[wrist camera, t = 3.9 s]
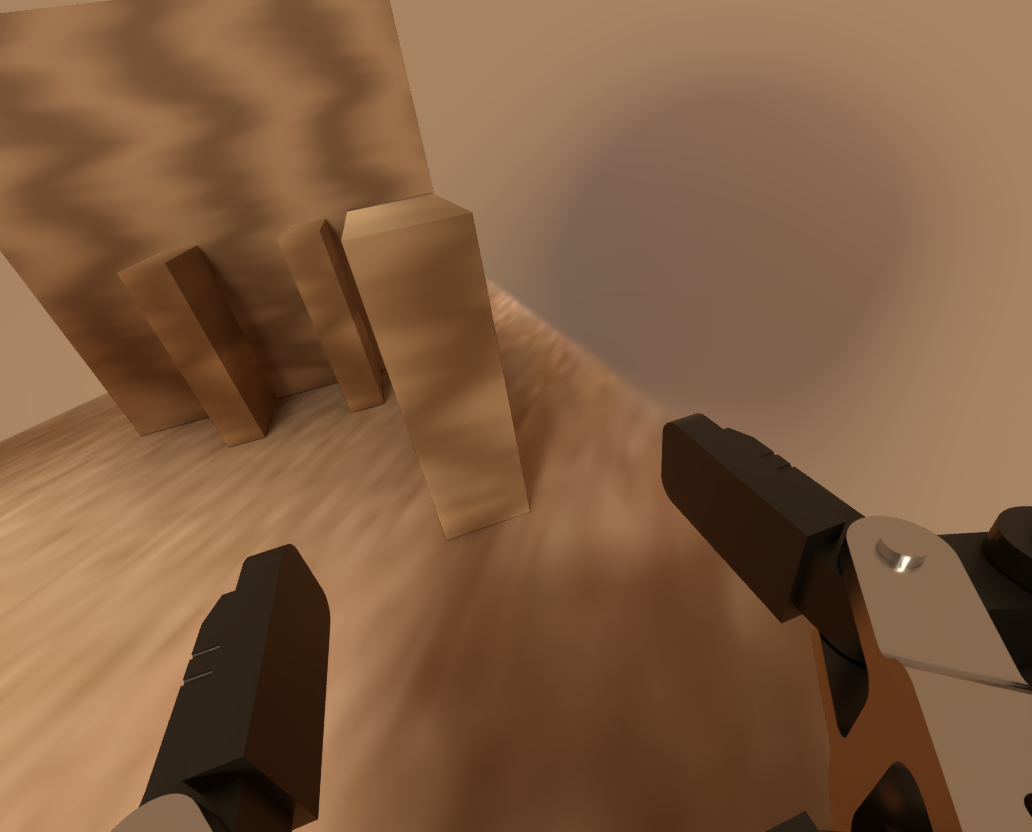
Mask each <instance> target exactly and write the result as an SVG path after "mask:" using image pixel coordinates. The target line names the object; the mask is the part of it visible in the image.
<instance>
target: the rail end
mask: <svg viewBox="0 0 1032 832" xmlns="http://www.w3.org/2000/svg"><path fill="white" fill-rule="evenodd" d="M341 242H342V245H343V248H344V251H345V253H346V256H347V259H348V262H349V265H350V268H351V270H352V273H353V276H354V279H355V282H356V285H357V287H358V290H359V293H360V296H361V299H362V302H363V304H364V307H365V310H366V313H367V316H368V319H369V321H370V324H371V327H372V330H373V333H374V336H375V338H376V341H377V344H378V347H379V350H380V353H381V355H382V358H383V361H384V364H385V367H386V370H387V372H388V375H389V378H390V381H391V384H392V387H393V389H394V392H395V395H396V398H397V401H398V404H399V406H400V409H401V412H402V415H403V418H404V421H405V423H406V426H407V429H408V432H409V435H410V438H411V440H412V443H413V446H414V449H415V452H416V455H417V457H418V460H419V463H420V466H421V469H422V472H423V474H424V477H425V480H426V483H427V486H428V489H429V491H430V494H431V497H432V500H433V503H434V506H435V508H436V511H437V514H438V517H439V520H440V523H441V525H442V528H443V531H444V534H445V537H446V540H448V539H451V538H454V537H457V536H460V535H463V534H466V533H469V532H472V531H475V530H478V529H480V528H483V527H486V526H489V525H492V524H495V523H498V522H501V521H504V520H507V519H510V518H512V517H515V516H518V515H521V514H524V513H527V512H530V509H529V504H528V499H527V494H526V489H525V483H524V478H523V473H522V468H521V463H520V457H519V452H518V447H517V442H516V437H515V431H514V426H513V421H512V416H511V411H510V405H509V400H508V395H507V390H506V385H505V379H504V374H503V369H502V364H501V359H500V353H499V348H498V343H497V338H496V333H495V327H494V322H493V317H492V312H491V307H490V301H489V296H488V291H487V286H486V281H485V276H484V270H483V265H482V260H481V255H480V250H479V245H478V239H477V234H476V229H475V224H474V219H473V213H472V212H470V211H468V210H466V209H464V208H461V207H459V206H457V205H455V204H453V203H451V202H449V201H447V200H445V199H443V198H441V197H439V196H437V195H435V194H433V193H427V194H422V195H417V196H412V197H407V198H402V199H397V200H392V201H387V202H383V203H378V204H373V205H368V206H363V207H358V208H353V209H348V210H347V215H346V220H345V225H344V230H343V235H342V240H341Z"/></svg>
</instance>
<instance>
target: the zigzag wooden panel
mask: <svg viewBox="0 0 1032 832" xmlns="http://www.w3.org/2000/svg"><path fill="white" fill-rule="evenodd" d="M427 193H433V194H434V191H433V186H432V182H431V178H430V173H429V169H428V165H427V160H426V156H425V152H424V148H423V143H422V139H421V135H420V130H419V126H418V122H417V117H416V113H415V109H414V104H413V100H412V96H411V91H410V87H409V83H408V79H407V74H406V70H405V65H404V61H403V57H402V52H401V48H400V44H399V39H398V35H397V31H396V26H395V22H394V18H393V13H392V9H391V5H390V0H112V1H102V2H94V3H86V4H76V5H68V6H59V7H50V8H42V9H34V10H25V11H16V12H8V13H0V250H1V252H2V253H3V255H4V256H5V257H6V259H7V260H8V261H9V263H10V264H11V265H12V266H13V268H14V269H15V271H16V272H17V273H18V274H19V276H20V277H21V278H22V280H23V281H24V282H25V284H26V285H27V286H28V288H29V289H30V290H31V291H32V293H33V294H34V295H35V297H36V298H37V299H38V301H39V302H40V303H41V305H42V306H43V307H44V309H45V310H46V311H47V313H48V314H49V315H50V317H51V318H52V319H53V320H54V322H55V323H56V324H57V326H58V327H59V328H60V330H61V331H62V332H63V334H64V335H65V336H66V338H67V339H68V340H69V341H70V342H71V344H72V345H73V347H74V348H75V349H76V351H77V352H78V353H79V355H80V356H81V357H82V359H83V360H84V361H85V362H86V364H87V365H88V366H89V368H90V369H91V370H92V372H93V373H94V374H95V376H96V377H97V378H98V380H99V381H100V382H101V383H102V385H103V386H104V387H105V389H106V390H107V391H108V393H109V394H110V395H111V397H112V398H113V399H114V401H115V402H116V403H117V404H118V406H119V407H120V408H121V410H122V411H123V412H124V414H125V415H126V416H127V418H128V419H129V420H130V422H131V423H132V424H133V425H134V427H135V428H136V429H137V431H138V432H139V433H140V435H144V434H148V433H152V432H155V431H159V430H163V429H166V428H170V427H174V426H178V425H181V424H185V423H189V422H192V421H196V420H200V419H204V418H207V417H210V419H211V421H212V422H213V424H214V425H215V427H216V428H217V430H218V432H219V433H220V435H221V436H222V438H223V439H224V441H225V442H226V444H227V446H228V447H231V446H235V445H239V444H242V443H246V442H249V441H253V440H256V439H260V438H263V437H265V435H266V432H267V429H268V426H269V423H270V420H271V417H272V414H273V411H274V408H275V405H276V402H277V399H278V398H281V397H285V396H289V395H292V394H296V393H300V392H303V391H307V390H311V389H315V388H318V387H322V386H326V385H329V384H333V383H337V382H338V383H339V385H340V388H341V390H342V392H343V395H344V397H345V400H346V402H347V404H348V407H349V409H350V411H351V413H352V412H355V411H359V410H362V409H366V408H369V407H373V406H376V405H380V404H383V403H384V397H383V388H382V378H381V370H385V369H386V367H385V364H384V361H383V358H382V355H381V353H380V350H379V347H378V344H377V341H376V338H375V336H374V333H373V330H372V327H371V324H370V321H369V319H368V316H367V313H366V310H365V307H364V304H363V302H362V299H361V296H360V293H359V290H358V287H357V285H356V282H355V279H354V276H353V273H352V270H351V268H350V265H349V262H348V259H347V256H346V253H345V251H344V248H343V245H342V242H341V240H342V235H343V230H344V225H345V220H346V215H347V210H348V209H353V208H358V207H363V206H368V205H373V204H378V203H383V202H387V201H392V200H397V199H402V198H407V197H412V196H417V195H422V194H427Z"/></svg>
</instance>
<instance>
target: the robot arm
mask: <svg viewBox="0 0 1032 832" xmlns="http://www.w3.org/2000/svg"><path fill="white" fill-rule="evenodd" d="M661 477H662V483H663V486H664V489H665V491H666V493H667V495H668V497H669V499H670V500H671V501H672V503H673V504H674V505H675V506H676V507H677V508H678V509H679V510H680V511H681V513H682V514H683V515H684V516H685V517H686V518H687V519H688V520H689V521H690V523H691V524H692V525H693V526H694V527H695V528H696V529H697V530H698V531H699V532H700V534H701V535H702V536H703V537H704V538H705V539H706V540H707V541H708V542H709V544H710V545H711V546H712V547H713V548H714V549H715V550H716V551H717V552H718V554H719V555H720V556H721V557H722V558H723V559H724V560H725V561H726V562H727V563H728V565H729V566H730V567H731V568H732V569H733V570H734V571H735V572H736V573H737V575H738V576H739V577H740V578H741V579H742V580H743V581H744V582H745V583H746V585H747V586H748V587H749V588H750V589H751V590H752V591H753V592H754V593H755V594H756V596H757V597H758V598H759V599H760V600H761V601H762V602H763V603H764V604H765V606H766V607H767V608H768V609H769V610H770V611H771V612H772V613H773V614H774V616H775V617H776V618H777V619H778V620H779V621H780V622H781V623H783V622H785V621H788V620H790V619H792V618H795V617H797V616H799V615H802V614H803V615H804V616H805V617H806V618H807V619H808V620H809V621H810V622H811V623H812V624H813V625H812V628H811V639H812V645H813V650H814V656H815V661H816V667H817V673H818V678H819V684H820V689H821V695H822V700H823V706H824V712H825V717H826V723H827V728H828V734H829V741H830V763H829V774H828V786H829V800H830V808H831V814H832V820H833V827H834V831H831V830H818V829H817V827H816V826H815V825H814V823H813V822H812V820H811V819H810V817H809V816H808V814H807V813H806V811H804V812H802V813H801V814H799V815H797V816H795V817H793V818H791V819H789V820H787V821H785V822H783V823H781V824H779V825H777V826H776V827H774V828H772V829H770V830H768V831H766V832H1032V506H1022V507H1014V508H1009V509H1007V510H1005V511H1003V512H1002V513H1001V514H999V516H998V518H997V520H996V521H995V522H994V524H993V526H992V527H991V529H990V531H989V532H979V533H962V534H947V535H936V534H934V533H932V532H931V531H929V530H927V529H925V528H923V527H921V526H918V525H916V524H914V523H911V522H908V521H905V520H901V519H897V518H892V517H884V516H871V517H865V516H863V515H862V514H860V513H859V512H857V511H856V510H855V509H853V508H852V507H850V506H849V505H848V504H846V503H845V502H843V501H842V500H840V499H839V498H838V497H836V496H835V495H834V494H832V493H831V492H829V491H828V490H827V489H825V488H824V487H822V486H821V485H820V484H818V483H817V482H815V481H814V480H813V479H811V478H810V477H808V476H807V475H806V474H804V473H803V472H801V471H800V470H798V469H797V468H795V467H793V468H792V467H791V465H790V463H789V462H787V461H786V460H784V459H783V458H782V457H780V456H779V455H774V453H773V451H772V450H770V449H769V448H768V447H766V446H765V445H764V444H762V443H761V442H759V441H758V440H756V439H755V438H754V437H751V436H748V435H746V434H743V433H741V432H738V431H736V430H733V429H730V428H726V429H722V428H720V427H719V426H718V425H717V424H715V423H714V422H713V421H711V420H710V419H709V418H707V417H706V416H704V415H702V414H694V415H691V416H688V417H684V418H681V419H678V420H675V421H672V422H669V423H667V424H666V425H665V426H664V428H663V441H662V470H661ZM329 637H330V611H329V605H328V602H327V598H326V596H325V593H324V591H323V589H322V588H321V586H320V585H319V583H318V582H317V580H316V578H315V577H314V575H313V574H312V572H311V571H310V569H309V567H308V566H307V564H306V563H305V561H304V559H303V558H302V556H301V555H300V553H299V552H298V550H297V549H296V548H295V546H293V545H292V544H287V545H284V546H281V547H278V548H275V549H272V550H268V551H265V552H262V553H259V554H256V555H253V556H250V557H248V558H247V559H246V560H245V561H244V563H243V566H242V569H241V573H240V576H239V580H238V583H237V587H236V590H235V591H233V592H230V593H227V594H224V595H222V596H221V598H220V599H219V600H218V602H217V603H216V605H215V606H214V607H213V609H212V610H211V612H210V613H209V614H208V616H207V617H206V619H205V620H204V622H203V623H202V625H201V628H200V631H199V634H198V637H197V640H196V643H195V646H194V649H193V652H192V656H193V658H192V659H191V660H189V663H188V666H187V669H186V672H185V675H184V678H183V680H184V685H183V686H181V687H180V690H179V693H178V696H177V699H176V702H175V705H174V708H173V711H172V714H171V717H170V720H169V723H168V726H167V729H166V732H165V735H164V738H163V740H162V743H161V746H160V749H159V752H158V755H157V758H156V761H155V764H154V767H153V770H152V773H151V776H150V779H149V782H148V785H147V788H146V791H145V793H144V796H143V798H142V801H141V803H140V805H139V807H138V808H137V809H136V810H135V811H133V812H132V813H131V814H129V815H128V816H127V817H126V818H125V819H123V820H122V821H121V822H120V823H119V824H118V825H117V826H116V827H115V828H114V829H113V830H112V831H111V832H292V830H294V829H296V828H299V827H301V826H303V825H306V824H308V823H310V822H313V821H315V820H317V819H318V813H319V797H320V781H321V765H322V749H323V733H324V717H325V701H326V685H327V669H328V653H329Z"/></svg>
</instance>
